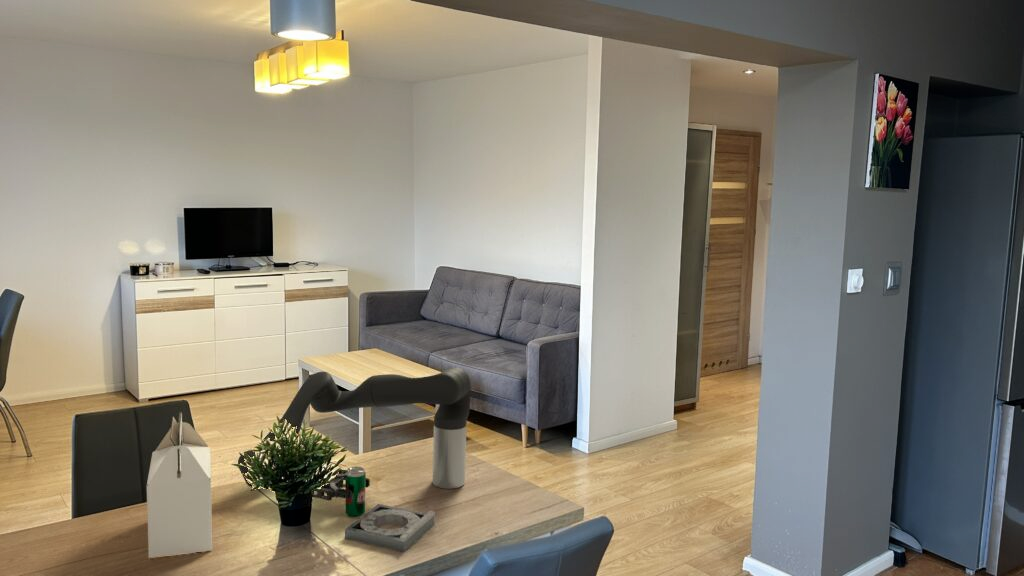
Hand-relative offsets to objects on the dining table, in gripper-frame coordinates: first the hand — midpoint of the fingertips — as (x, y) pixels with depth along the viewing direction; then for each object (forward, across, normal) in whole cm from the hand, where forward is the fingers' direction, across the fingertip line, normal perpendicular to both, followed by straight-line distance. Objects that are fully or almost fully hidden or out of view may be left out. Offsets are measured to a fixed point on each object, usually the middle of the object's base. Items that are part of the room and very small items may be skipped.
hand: (360, 489), depth 200 cm
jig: (+12, -5, +7) cm, 14 cm away
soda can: (-2, 0, +7) cm, 7 cm away
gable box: (-32, -27, +7) cm, 43 cm away
